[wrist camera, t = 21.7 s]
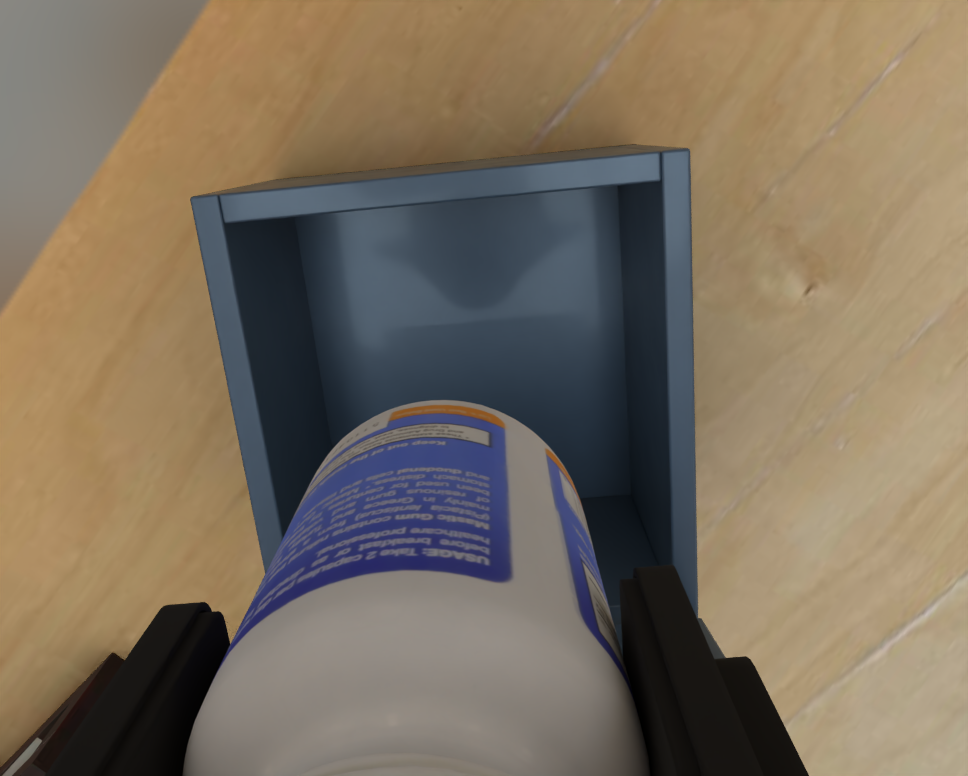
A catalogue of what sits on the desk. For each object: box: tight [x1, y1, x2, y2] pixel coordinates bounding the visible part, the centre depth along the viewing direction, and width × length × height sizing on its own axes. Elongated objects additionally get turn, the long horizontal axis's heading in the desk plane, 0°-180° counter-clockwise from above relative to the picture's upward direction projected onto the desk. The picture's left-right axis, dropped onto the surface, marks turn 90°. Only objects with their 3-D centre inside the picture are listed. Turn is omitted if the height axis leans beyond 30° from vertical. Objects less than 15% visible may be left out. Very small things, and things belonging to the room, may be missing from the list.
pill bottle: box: [183, 400, 651, 776], centre depth 11 cm, size 5×5×10 cm
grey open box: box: [190, 144, 698, 625], centre depth 28 cm, size 15×14×9 cm
